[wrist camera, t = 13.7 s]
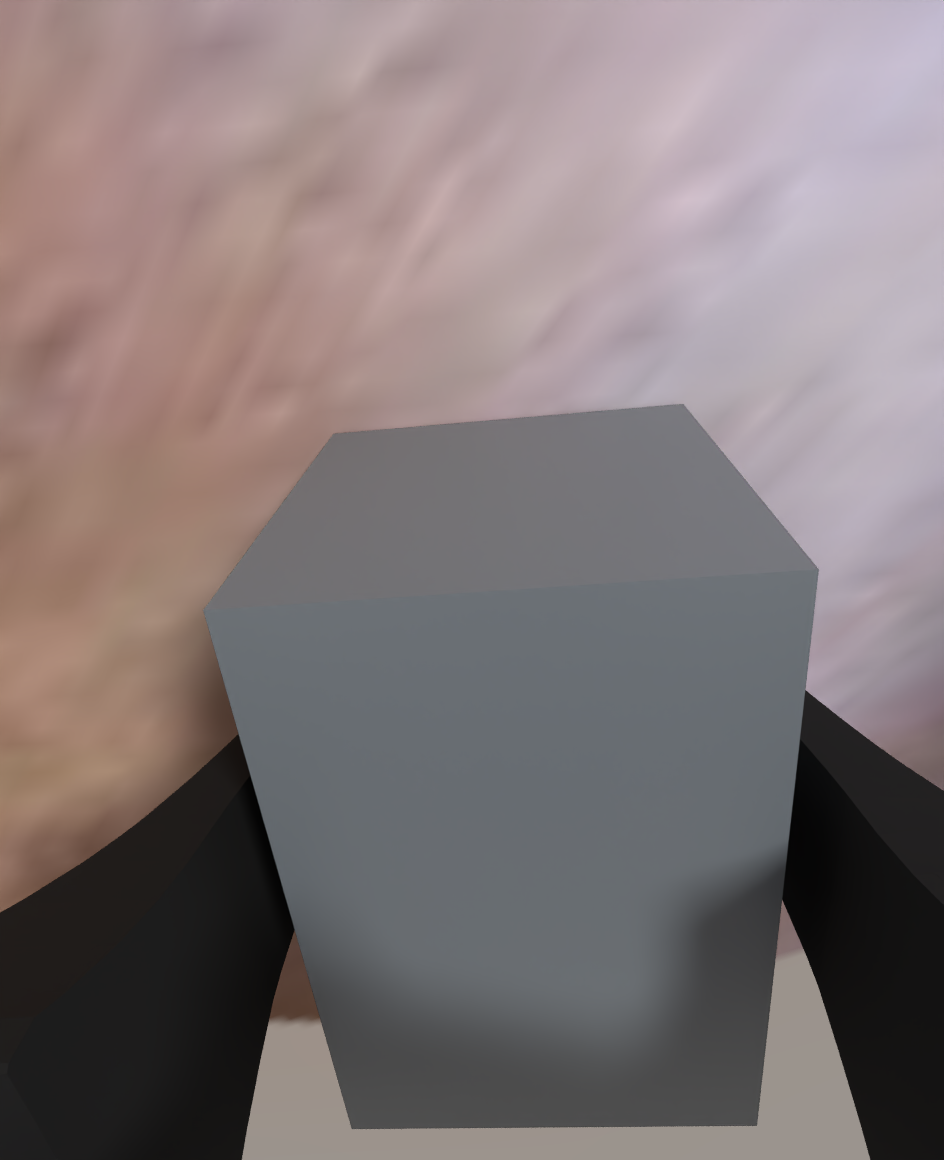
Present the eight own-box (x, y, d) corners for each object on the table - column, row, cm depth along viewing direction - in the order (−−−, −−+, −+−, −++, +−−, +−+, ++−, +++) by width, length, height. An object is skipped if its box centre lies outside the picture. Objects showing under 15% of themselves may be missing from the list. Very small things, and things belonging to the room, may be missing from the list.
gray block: (683, 404, 13) (818, 569, 7) (674, 811, 17) (756, 1125, 11) (333, 433, 14) (203, 610, 8) (404, 822, 17) (351, 1129, 12)
